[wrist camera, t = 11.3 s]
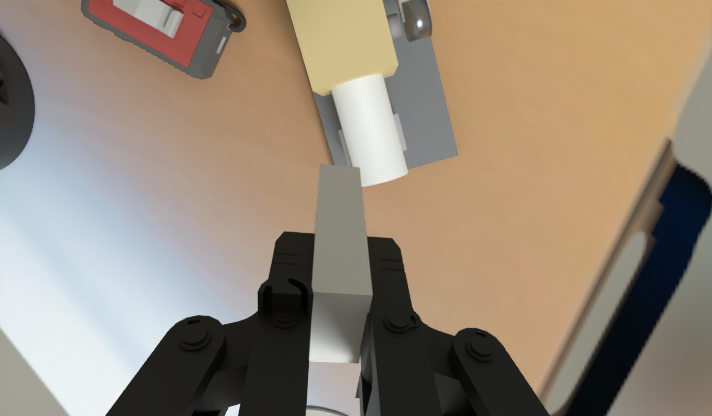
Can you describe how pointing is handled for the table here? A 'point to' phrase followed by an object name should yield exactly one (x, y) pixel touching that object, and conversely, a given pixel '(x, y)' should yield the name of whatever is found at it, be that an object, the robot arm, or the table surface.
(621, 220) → the table surface
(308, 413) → the pliers
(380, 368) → the robot arm
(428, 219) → the table surface
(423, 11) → the valve lever
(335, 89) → the valve rig
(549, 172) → the table surface
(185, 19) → the walkie-talkie
